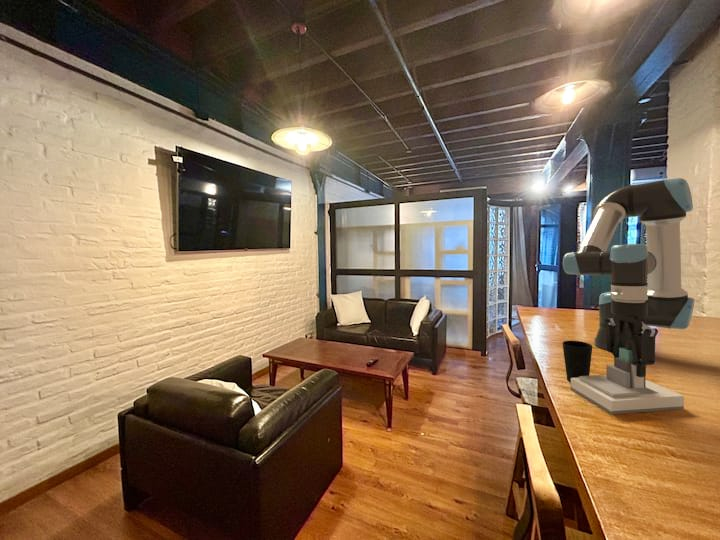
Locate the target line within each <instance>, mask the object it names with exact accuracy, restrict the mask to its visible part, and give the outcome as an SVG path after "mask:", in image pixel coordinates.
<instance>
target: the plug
mask: <svg viewBox="0 0 720 540" xmlns="http://www.w3.org/2000/svg"><path fill="white" fill-rule="evenodd" d="M632 363H634V358H633V353H632V348H631V342H629V341H626V348H619V358H613V366H614V367H617V368H619V369H621V370H624V371H626V372H629V373H630V388H632V380H631V364H632ZM645 380H646V376H645V377H644V387H645Z"/></svg>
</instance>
